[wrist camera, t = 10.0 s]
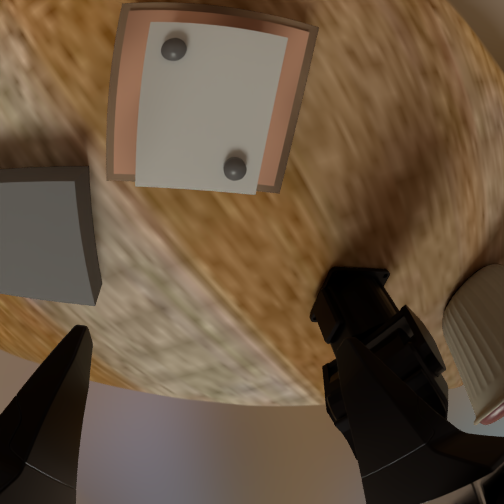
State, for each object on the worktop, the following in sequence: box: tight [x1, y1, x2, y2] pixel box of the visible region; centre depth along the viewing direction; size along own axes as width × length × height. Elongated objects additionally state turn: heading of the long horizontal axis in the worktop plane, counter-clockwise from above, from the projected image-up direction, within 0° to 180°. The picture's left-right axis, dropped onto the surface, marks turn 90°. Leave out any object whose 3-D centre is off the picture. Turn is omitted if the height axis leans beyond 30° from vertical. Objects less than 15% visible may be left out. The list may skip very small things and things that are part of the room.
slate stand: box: [0, 166, 102, 306], centre depth 17 cm, size 10×10×2 cm
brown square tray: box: [106, 2, 319, 193], centre depth 14 cm, size 10×10×2 cm
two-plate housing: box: [135, 22, 288, 195], centre depth 11 cm, size 6×4×5 cm
